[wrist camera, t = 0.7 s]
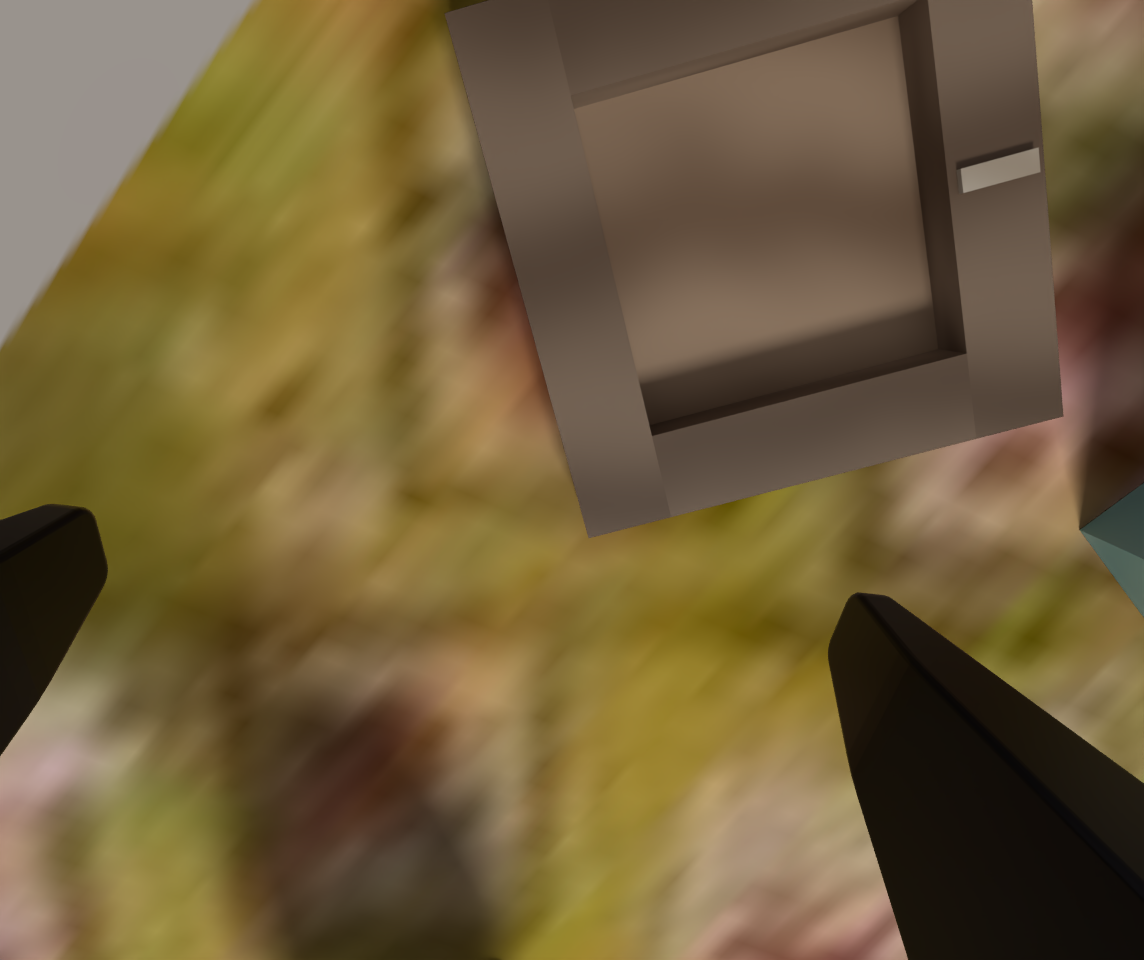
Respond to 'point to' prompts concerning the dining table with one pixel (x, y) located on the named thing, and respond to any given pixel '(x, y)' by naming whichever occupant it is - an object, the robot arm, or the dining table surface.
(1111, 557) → the handle
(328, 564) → the dining table surface
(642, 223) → the brown square tray
